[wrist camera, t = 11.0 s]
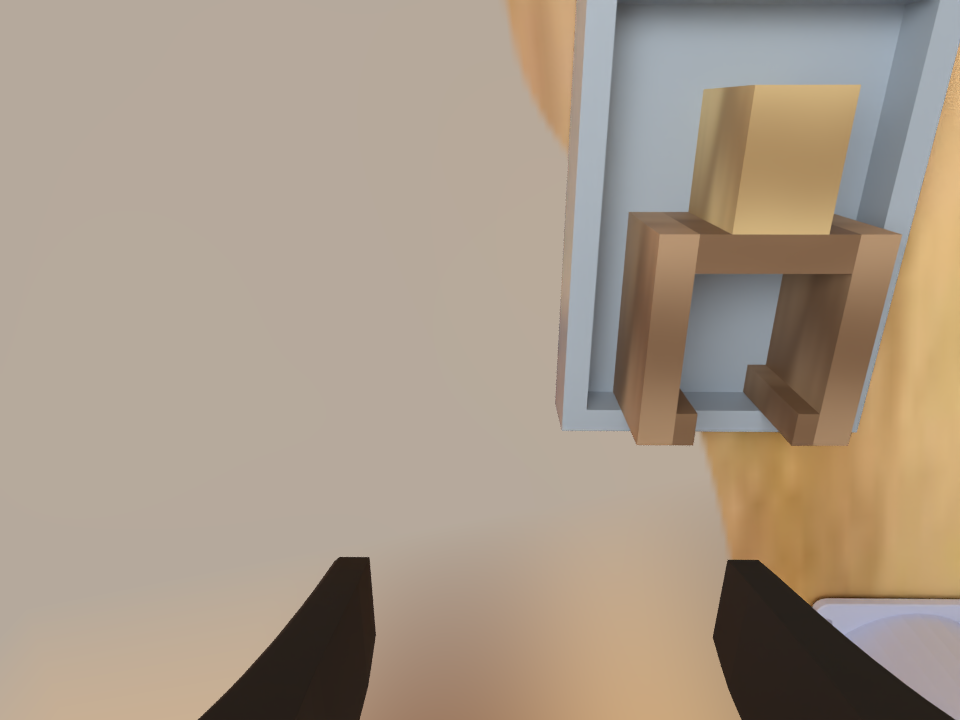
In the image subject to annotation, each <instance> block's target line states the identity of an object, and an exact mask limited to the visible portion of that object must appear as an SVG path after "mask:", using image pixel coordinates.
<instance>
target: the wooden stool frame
mask: <svg viewBox="0 0 960 720" xmlns="http://www.w3.org/2000/svg"><path fill="white" fill-rule="evenodd" d="M860 88H861V85H747V86H736V87H724V88H713V89H704V90H703V98H702V106H701V114H700V122H699V130H698V138H697V146H696V154H695V162H694V170H693V178H692V186H691V194H690V203H689V211H688V212H629V215H628V226H627V237H626V249H625V260H624V271H623V283H622V294H621V305H620V316H619V328H618V339H617V350H616V362H615V373H614V384H613V393H614V395H615V397H616V400H617V402H618V404H619V406H620V408H621V411H622V413H623V415H624V417H625V420H626V422H627V424H628V426H629V429H630V431H631V433H632V435H633V437H634V440H635V442H636V444H637V445H693V442H694V436H695V429H696V422H697V416H698V414H697V412H696V411H695V409H694V408H693V406H692V405H691V404H690V402H689V401H688V399H687V398H686V396H685V395H684V393H683V392H682V391H681V389H680V382H681V374H682V367H683V359H684V352H685V344H686V337H687V329H688V322H689V314H690V307H691V299H692V292H693V284H694V277H695V274H783V276H782V281H781V286H780V292H779V297H778V302H777V307H776V313H775V318H774V323H773V329H772V334H771V339H770V345H769V350H768V355H767V361H766V365H747V371H746V377H745V382H744V388H743V393H744V394H745V395H746V396H747V397H748V398H749V399H750V400H751V401H752V402H753V404H754V405H755V406H756V407H757V408H758V409H759V410H760V411H761V412H762V413H763V415H764V416H765V417H766V418H767V419H768V420H769V421H770V422H771V423H772V424H773V426H774V427H775V428H776V429H777V430H778V431H779V432H780V433H781V434H782V436H783V437H784V438H785V439H786V440H787V441H788V442H789V443H790V444H791V445H792V446H848V444H849V440H850V436H851V432H852V428H853V424H854V421H855V417H856V413H857V409H858V405H859V401H860V397H861V393H862V389H863V386H864V382H865V378H866V374H867V370H868V366H869V362H870V358H871V354H872V350H873V347H874V343H875V339H876V335H877V331H878V327H879V323H880V319H881V315H882V312H883V308H884V304H885V300H886V296H887V292H888V288H889V284H890V280H891V277H892V273H893V269H894V265H895V261H896V257H897V253H898V249H899V245H900V242H901V238H902V234H899V233H896V232H892V231H889V230H886V229H882V228H879V227H876V226H873V225H869V224H866V223H863V222H859V221H856V220H853V219H849V218H846V217H843V216H840V215H836V214H834V210H835V206H836V201H837V196H838V192H839V187H840V182H841V177H842V173H843V168H844V163H845V159H846V154H847V149H848V144H849V140H850V135H851V130H852V126H853V121H854V116H855V112H856V107H857V102H858V97H859V93H860Z"/></svg>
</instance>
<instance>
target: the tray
mask: <svg viewBox="0 0 960 720" xmlns="http://www.w3.org/2000/svg"><path fill="white" fill-rule="evenodd" d="M959 43H960V0H577V3H576V22H575V41H574V59H573V78H572V97H571V116H570V135H569V154H568V174H567V192H566V210H565V229H564V249H563V268H562V286H561V306H560V324H559V343H558V361H557V362H558V363H557V380H556V381H557V382H556V400H555V404H556V408H557V413H558V417H559V421H560V425H561V430H562V431H630V429H629V426H628V424H627V422H626V420H625V417H624V415H623V413H622V411H621V408H620V406H619V404H618V402H617V400H616V397H615V395H614V393H613V384H614V373H615V362H616V350H617V339H618V328H619V316H620V305H621V294H622V283H623V271H624V260H625V249H626V237H627V226H628V215H629V212H688V211H689V203H690V194H691V186H692V178H693V170H694V162H695V154H696V146H697V138H698V130H699V122H700V114H701V106H702V98H703V90H704V89H713V88H724V87H736V86H747V85H861V88H860V93H859V97H858V102H857V107H856V112H855V116H854V121H853V126H852V130H851V135H850V140H849V144H848V149H847V154H846V159H845V163H844V168H843V173H842V177H841V182H840V187H839V192H838V196H837V201H836V206H835V210H834V214H836V215H840V216H843V217H846V218H849V219H853V220H856V221H859V222H863V223H866V224H869V225H873V226H876V227H879V228H882V229H886V230H889V231H892V232H896V233H899V234H902V238H901V242H900V245H899V249H898V253H897V257H896V261H895V265H894V269H893V273H892V277H891V280H890V284H889V288H888V292H887V296H886V300H885V304H884V308H883V312H882V315H881V319H880V323H879V327H878V331H877V335H876V339H875V343H874V347H873V350H872V354H871V358H870V362H869V366H868V370H867V374H866V378H865V382H864V386H863V389H862V393H861V397H860V401H859V405H858V409H857V413H856V417H855V421H854V424H853V428H852V432H857V429H858V425H859V422H860V418H861V414H862V410H863V406H864V403H865V399H866V395H867V391H868V387H869V384H870V380H871V376H872V372H873V369H874V365H875V361H876V357H877V353H878V350H879V346H880V342H881V338H882V334H883V331H884V327H885V323H886V319H887V315H888V312H889V308H890V304H891V300H892V297H893V293H894V289H895V285H896V281H897V278H898V274H899V270H900V266H901V262H902V259H903V255H904V251H905V247H906V243H907V240H908V236H909V232H910V228H911V224H912V221H913V217H914V213H915V209H916V206H917V202H918V198H919V194H920V190H921V187H922V183H923V179H924V175H925V171H926V168H927V164H928V160H929V156H930V152H931V149H932V145H933V141H934V137H935V134H936V130H937V126H938V122H939V118H940V115H941V111H942V107H943V103H944V99H945V96H946V92H947V88H948V84H949V80H950V77H951V73H952V69H953V65H954V62H955V58H956V54H957V50H958V46H959ZM782 276H783V274H695V277H694V284H693V292H692V299H691V307H690V314H689V322H688V329H687V337H686V344H685V352H684V359H683V367H682V374H681V382H680V389H681V391H682V392H683V393H684V395H685V396H686V398H687V399H688V401H689V402H690V404H691V405H692V406H693V408H694V409H695V411H696V412H697V414H698V416H697V422H696V429H695V431H714V432H779V431H778V430H777V429H776V428H775V427H774V426H773V424H772V423H771V422H770V421H769V420H768V419H767V418H766V417H765V416H764V415H763V413H762V412H761V411H760V410H759V409H758V408H757V407H756V406H755V405H754V404H753V402H752V401H751V400H750V399H749V398H748V397H747V396H746V395H745V394H744V393H743V388H744V382H745V377H746V371H747V365H766V361H767V355H768V350H769V345H770V339H771V334H772V329H773V323H774V318H775V313H776V307H777V302H778V297H779V292H780V286H781V281H782Z"/></svg>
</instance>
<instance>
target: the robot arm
mask: <svg viewBox="0 0 960 720" xmlns="http://www.w3.org/2000/svg"><path fill="white" fill-rule="evenodd" d="M375 636H376V632H375V620H374V608H373V596H372V583H371V572H370V559H369V557H339V558H338V559H337V560H336V561H334V563H333V564H332V566H331V567H330V568H329V570H328V571H327V573H326V574H325V576H324V577H323V578H322V580H321V581H320V583H319V584H318V585H317V587H316V588H315V590H314V591H313V592H312V593H311V595H310V596H309V597H308V599H307V600H306V601H305V602H304V604H303V605H302V607H301V608H300V609H299V610H298V612H297V613H296V614H295V615H294V616H293V618H292V619H291V620H290V621H289V623H288V624H287V625H286V626H285V628H284V629H283V630H282V631H281V632H280V634H279V635H278V636H277V637H276V639H275V640H274V641H273V642H272V643H271V644H270V645H269V647H268V648H267V649H266V650H265V651H264V652H263V653H262V654H261V656H260V657H259V658H258V659H257V660H256V661H255V662H254V663H253V664H252V666H251V667H250V668H249V669H248V670H247V671H246V672H245V674H243V675H242V677H241V678H240V679H239V680H238V681H237V682H236V683H235V684H234V685H233V686H232V687H231V688H230V689H229V690H228V691H227V692H226V693H225V694H224V695H223V696H222V697H221V698H220V699H219V700H218V701H217V702H216V703H215V704H214V705H213V706H212V707H211V708H210V709H209V710H208V711H207V712H205V713H204V714H203V716H201V717H200V718H199V719H198V720H360V716H361V711H362V708H363V704H364V700H365V696H366V692H367V688H368V683H369V677H370V670H371V664H372V657H373V650H374V643H375ZM713 640H714V643H715V646H716V650H717V653H718V657H719V660H720V663H721V667H722V670H723V673H724V676H725V679H726V683H727V686H728V689H729V691H730V694H731V696H732V699H733V701H734V703H735V706H736V708H737V710H738V712H739V715H740V717H741V719H742V720H960V599H859V598H825V599H820V600H818V601H817V602H815V603H814V605H813V606H812V607H811V606H810V605H809V604H808V603H807V602H806V601H804V600H803V599H802V598H801V597H800V596H799V595H798V594H796V593H795V592H794V591H793V590H792V589H791V588H790V587H789V586H788V585H786V584H785V583H784V582H783V581H782V580H781V579H780V578H779V577H777V576H776V575H775V574H774V573H773V572H772V571H771V570H769V569H768V568H767V567H766V566H765V565H764V564H762V563H761V562H760V561H759V560H728V561H727V566H726V571H725V577H724V582H723V587H722V592H721V597H720V603H719V608H718V613H717V618H716V624H715V629H714V634H713Z"/></svg>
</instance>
